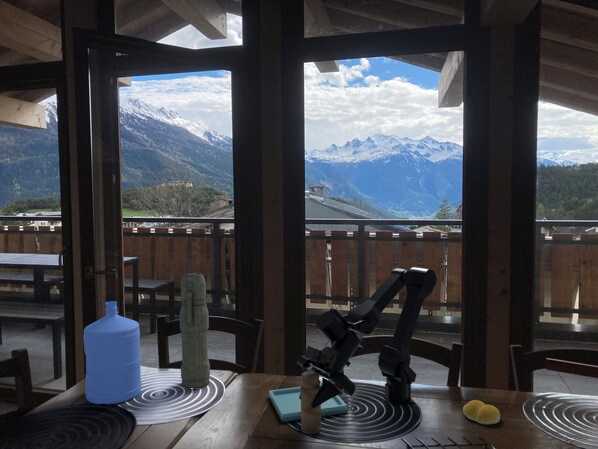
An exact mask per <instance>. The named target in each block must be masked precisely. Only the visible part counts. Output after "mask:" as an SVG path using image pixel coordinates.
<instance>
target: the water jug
mask: <svg viewBox="0 0 598 449" xmlns="http://www.w3.org/2000/svg"><path fill="white" fill-rule="evenodd" d="M104 304H105V316H103V317H102V318H100V319H98V320H96V321H94V322H92V323H91V324H89V325H87V326H85V328H84V329H83V346H84V354H85V368H86V374H85V391H84V392H85V399H86V400H87V401H88V402H89V403H91V404H95V405H100V404H107V405H113V404H114V405H115V404H120V403H125V402H127V401H129V400H132V399H133V398H136V397H137V396H138V395H139V394H140V393H141V391H142V379H141V378H142V377H141V374H142V373H141V364H142V363H141V362H142V359H141V357H142V356H141V345H140V344H141V343H140V342H141V340H140V339H141V331H140V330H141V329H140V324H139V322H138V321H137V320H133V319H130V318H127V317H124V316H121V315H118V306H117V304H118V301H115V300H111V301H106V302H105V303H104Z"/></svg>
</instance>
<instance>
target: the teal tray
mask: <svg viewBox="0 0 598 449" xmlns="http://www.w3.org/2000/svg"><path fill="white" fill-rule="evenodd" d="M319 385H320V386H321V387H322V383H320V384H319ZM300 393H301V386H296V387H288V388H287V387H286V388H279V389H271V390H268V398H269V399H270V401H271V402H270V403H271V404H272V405H273V407H274V409H275V411H276V413H277V415H278V416H279V419H280V420H281V422H282V423H283V422H291V421H298V420H301V400H300V399H299V396H300ZM346 413H348V406H347V404H346V402H344V401H343V399H342V398H341V397H340V396H339V395H337V396H335V397H333V398H331V399H329V400H327V401H326V402H324V403H322V404H321V417H325V416H332V415H339V414H346Z"/></svg>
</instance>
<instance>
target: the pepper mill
mask: <svg viewBox="0 0 598 449" xmlns="http://www.w3.org/2000/svg"><path fill="white" fill-rule="evenodd" d="M319 380H320V376H319V373H317V372H314V371H313V369H308V371H307V372H304V371H303V372H302V373H301V385H300V387H301V419H300V431H301V432H302V433H304V434H308V435H315V434H319V433H320V432H321V431H322V416H321V405H319V406H317V407H316V408H312V407H311V404H312V402H313V400H314V398H315V397H316V395H317V393H318V392H319V390H320V388H321V386H320V385H319Z"/></svg>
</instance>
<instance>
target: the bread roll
mask: <svg viewBox="0 0 598 449" xmlns="http://www.w3.org/2000/svg"><path fill="white" fill-rule="evenodd" d="M462 411H463V412H462V413H463V414H464V416H465V417H466V418H467V419H469V420H471V421H474V422H476V423H479V424H482V425H494V424H498V423H499V422H500V421H501V413H500V410H499V409H498V408H497V407H495V406H494V405H493V404H485V403H484V402H483V401H481V400H478V399H474V400H470V401H468V403H465V405H463V408H462Z"/></svg>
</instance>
